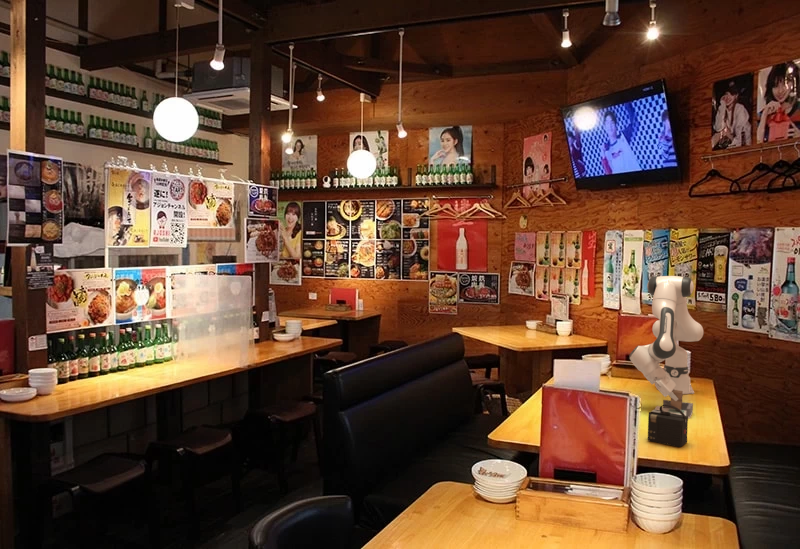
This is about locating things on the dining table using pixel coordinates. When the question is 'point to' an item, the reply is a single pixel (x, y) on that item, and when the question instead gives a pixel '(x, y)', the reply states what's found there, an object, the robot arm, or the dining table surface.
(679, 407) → the walnut block
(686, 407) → the corner arena
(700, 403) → the dining table surface
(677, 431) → the black portable radio
